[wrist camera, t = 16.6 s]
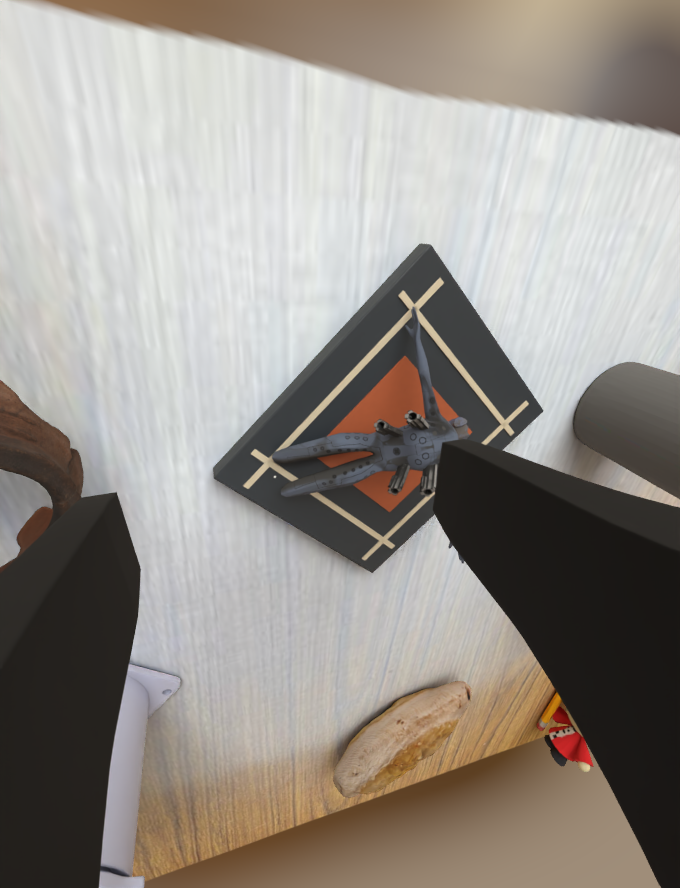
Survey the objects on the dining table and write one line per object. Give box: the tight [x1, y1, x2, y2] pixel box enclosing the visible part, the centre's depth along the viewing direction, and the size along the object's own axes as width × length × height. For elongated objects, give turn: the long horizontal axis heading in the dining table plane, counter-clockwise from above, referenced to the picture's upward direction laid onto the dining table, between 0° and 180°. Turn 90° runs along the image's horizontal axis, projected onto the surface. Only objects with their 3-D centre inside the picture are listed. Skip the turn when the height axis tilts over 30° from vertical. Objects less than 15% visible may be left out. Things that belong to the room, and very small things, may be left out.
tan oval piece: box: [333, 681, 472, 798], centre depth 34 cm, size 5×14×4 cm, turn 121°
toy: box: [544, 706, 593, 772], centre depth 42 cm, size 7×7×15 cm
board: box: [213, 244, 543, 573], centre depth 21 cm, size 14×12×1 cm
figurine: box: [272, 307, 470, 563], centre depth 19 cm, size 12×10×5 cm
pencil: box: [537, 692, 562, 731], centre depth 43 cm, size 1×18×1 cm, turn 171°
